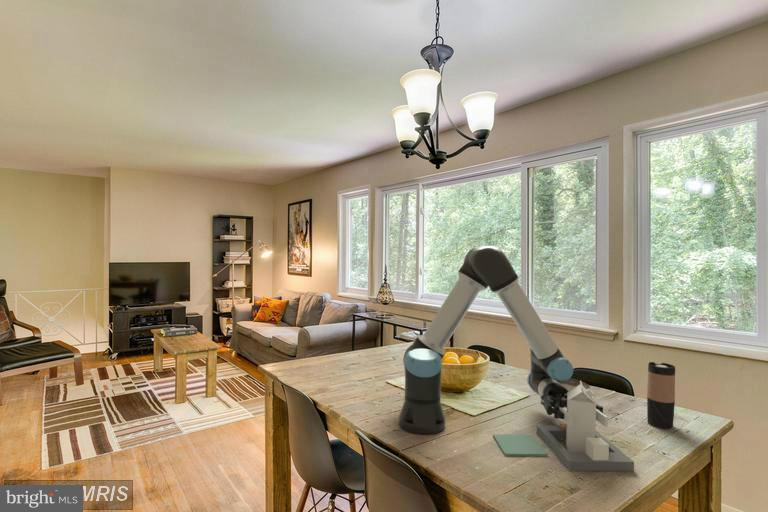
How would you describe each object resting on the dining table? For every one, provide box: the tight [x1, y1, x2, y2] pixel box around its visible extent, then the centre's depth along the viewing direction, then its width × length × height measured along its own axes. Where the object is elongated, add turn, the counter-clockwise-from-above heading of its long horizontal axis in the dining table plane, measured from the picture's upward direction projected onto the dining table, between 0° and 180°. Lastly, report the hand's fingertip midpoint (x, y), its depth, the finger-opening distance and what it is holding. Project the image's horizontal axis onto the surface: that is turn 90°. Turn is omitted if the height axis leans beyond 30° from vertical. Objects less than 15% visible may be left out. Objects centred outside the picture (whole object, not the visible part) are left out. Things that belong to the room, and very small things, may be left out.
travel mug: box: [646, 361, 676, 430], centre depth 137 cm, size 8×8×20 cm
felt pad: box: [492, 433, 549, 457], centre depth 120 cm, size 12×12×1 cm
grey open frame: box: [536, 423, 635, 472], centre depth 118 cm, size 17×22×7 cm
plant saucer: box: [554, 377, 591, 392], centre depth 170 cm, size 21×21×3 cm
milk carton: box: [565, 380, 597, 452], centre depth 118 cm, size 7×7×19 cm
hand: (588, 421), depth 114 cm, fingers closed on milk carton, 9 cm apart
